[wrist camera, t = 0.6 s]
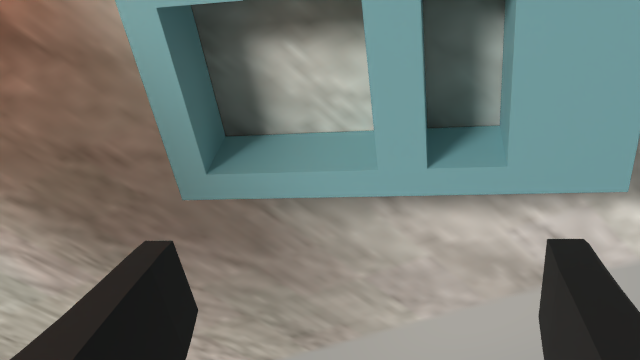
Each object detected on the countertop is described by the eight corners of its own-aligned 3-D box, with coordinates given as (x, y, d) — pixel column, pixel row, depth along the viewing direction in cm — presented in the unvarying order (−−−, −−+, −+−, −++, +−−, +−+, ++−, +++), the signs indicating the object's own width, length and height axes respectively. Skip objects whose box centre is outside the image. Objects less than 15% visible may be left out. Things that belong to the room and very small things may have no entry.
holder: (652, -107, 16) (684, -84, 14) (608, 148, 21) (628, 191, 19) (139, -52, 19) (106, -27, 17) (203, 161, 24) (182, 200, 22)
